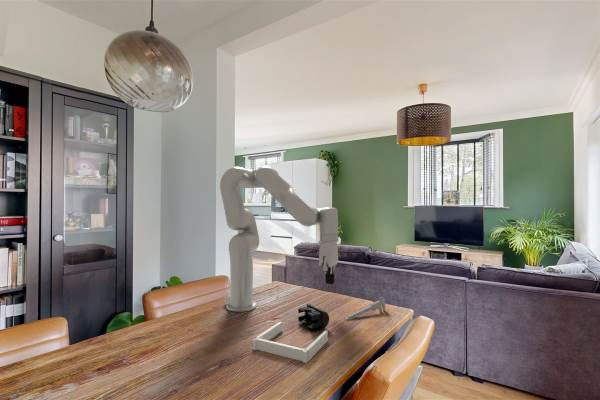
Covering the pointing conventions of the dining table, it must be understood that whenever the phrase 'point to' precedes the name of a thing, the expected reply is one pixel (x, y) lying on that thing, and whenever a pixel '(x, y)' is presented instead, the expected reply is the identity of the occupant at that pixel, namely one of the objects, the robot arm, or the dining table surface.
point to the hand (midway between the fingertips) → (330, 283)
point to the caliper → (369, 309)
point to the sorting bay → (287, 350)
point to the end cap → (313, 318)
